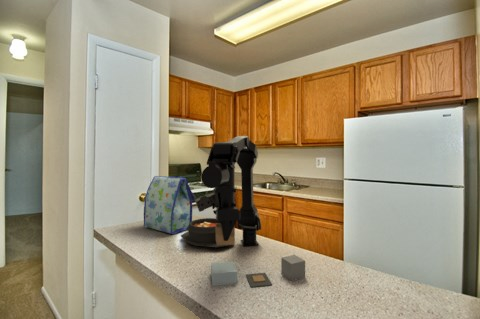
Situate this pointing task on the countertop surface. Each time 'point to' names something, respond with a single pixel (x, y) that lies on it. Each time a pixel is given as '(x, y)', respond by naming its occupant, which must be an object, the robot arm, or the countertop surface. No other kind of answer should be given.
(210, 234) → the casserole
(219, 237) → the walnut cube
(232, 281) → the base block
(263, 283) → the mat
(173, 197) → the lunch bag
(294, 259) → the grey cube
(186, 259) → the countertop surface
